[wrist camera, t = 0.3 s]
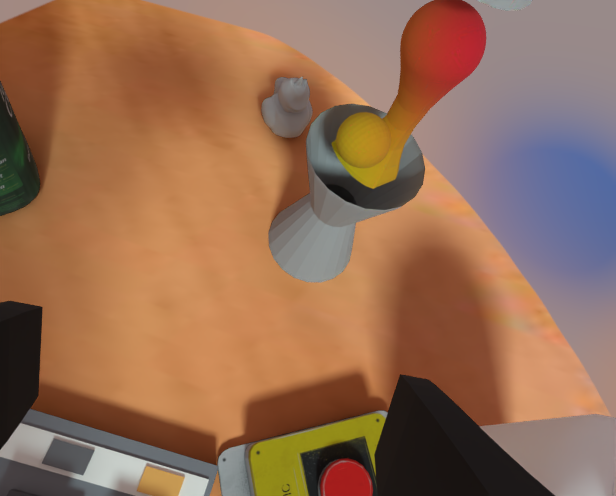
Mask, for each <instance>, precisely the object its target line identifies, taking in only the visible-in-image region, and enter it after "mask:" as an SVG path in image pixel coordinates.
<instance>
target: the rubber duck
mask: <svg viewBox="0 0 616 496" xmlns="http://www.w3.org/2000/svg"><path fill="white" fill-rule="evenodd" d="M309 96H310V90H309V86H308V83H307V79H303V77H300V78H289V79H288V78H285V77H280V78H278V79H277V80H276V81H275V89H274V94H273V95H272V96H271V97H268V98H266V99H265V100H264V101H263V103H262V109H261V111H262V115H263V119H264V121H265V123H266V124H267V126H268V127H270V128H271V130H272V132H273V133H275V134H276V135H278V136H281V137H285V138H293V137H298V136H300V135H301V133H302V132H303V131H304V129H305V127H306V126H307V125H308V124H309V122H310V120H311V117H312V113H313V110H312V107H311V104H310V101H309Z"/></svg>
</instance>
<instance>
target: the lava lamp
mask: <svg viewBox="0 0 616 496" xmlns="http://www.w3.org/2000/svg"><path fill="white" fill-rule="evenodd" d="M477 1H479V2H481V3H484V4H486V5H488V6H490V7H494V8H498V9H502V10H521V9H523V8H525V7H527V6H529V5H530V3H531V1H532V0H477ZM485 45H486V30H485V26H484V23H483V20H482V18H481V16H480V15H479V13H478V12H477V11H476V10H475V9H474V7H472V6H471V5H470V4H468V3H467V2H465V1H462V0H434V1H431V2H429V3H427V4H425V5H424V6H422V7H421V8H420V9H418V10H417V11H416V12H415V13H414V14H413V15H412V17H411V18H410V20H409V21H408V23H407V25H406V27H405V29H404V31H403V34H402V38H401V48H400V52H401V54H400V56H401V73H400V83H399V90H398V95H397V97H396V99H395V101H394V102H393V104H392V106H391V108H390V110H389V111H388V113H384V112H382V111H380V110H377V109H375V108H372V107H370V106H364V105H357V104H346V105H339V106H334V107H332V108H330V109H328V110H326V111H324V112H322V113H321V114H320V115H319V116H318V117H317V118H316V119H315V121H314V122H313V123H312V124H311V126H310V130H309V133H308V136H307V139H306V153H307V165H308V176H309V187H310V193H309V194H308V195H306V196H305V197H303V198H301V199H300V200H298V201H297V202H295V203H294V204H292V205H291V206H289V207H288V208H286V209H284V210H283V211H281V212H280V213H279V214H278V215H277V217H276V218H275V219H274V220H273V222H272V224H271V227H270V230H269V247H270V250H271V252H272V255H273V258H274V259H275V260H276V262H277V263H278V264H279V266H280V267H281V268H282V269H283V270H284V271H286V272H287V273H288V274H290V275H291V276H293V277H294V278H297V279H300V280H303V281H306V282H323V281H327V280H330V279H333V278H335V277H336V276H337V275H339V274H340V273H341V272H343V270H344V269H345V267H346V266H347V264H348V263H349V260H350V256H351V251H352V245H353V239H354V232H355V225H356V222H359V221H362V220H365V219H368V218H371V217H374V216H377V215H380V214H383V213H386V212H389V211H392V210H395V209H398V208H400V207H401V206H403V205H404V204H406V203H407V202H408V201H410V200H411V199H413V198H414V197H415V196H416V194H417V193H418V191H419V189H420V188H421V186H422V185H423V180H424V173H425V166H424V161H423V156H422V152H421V150H420V148H419V146H418V144H417V143H416V141H415V139H414V137H413V136H412V135H411V133H412V131H413V129H414V128H415V127H416V125H417V124H418V123H419V122H420V120H421V119H422V118H423V117H424V116H425V114H426V113H427V112H428V110H429V109H430V108H431V107H432V106H434V105H435V104H436V103H437V102H438V101H439V100H440V99H441V98H442V97H443V96H444V95H446V94H447V93H448V92H449V91H450V90H451V89H453V88H454V87H455V86H456V85H458V84H459V83H460V82H461V81H463V80H464V79H465V78H466V77H468V76H469V75H470V74H471V73H472V72H473V71H474V70H475V69H476V67H477V66H478V64H479V63H480V60H481V59H482V56H483V54H484V50H485Z"/></svg>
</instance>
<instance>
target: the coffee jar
mask: <svg viewBox="0 0 616 496" xmlns="http://www.w3.org/2000/svg"><path fill="white" fill-rule="evenodd" d="M39 189H40V178H39V174H38V170H37V166H36V163H35V160H34V158H33V155H32V153H31V151H30V148H29V146H28V143H27V141H26V139H25V137H24V135H23V132H22V130H21V128H20V126H19V124H18V121H17V119H16V116H15V114H14V111H13V109H12V107H11V104H10V102H9V99H8V97H7V95H6V93H5V90H4V88H3V86H2V84H1V81H0V216H2V215H5V214H8V213H11V212H14V211H16V210H18V209H20V208H23V207H25V206H26V205H28V204H29V203H30V202H31V201H32V200H33V199H34V198H35V197H36V196H37V194H38V192H39Z"/></svg>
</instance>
